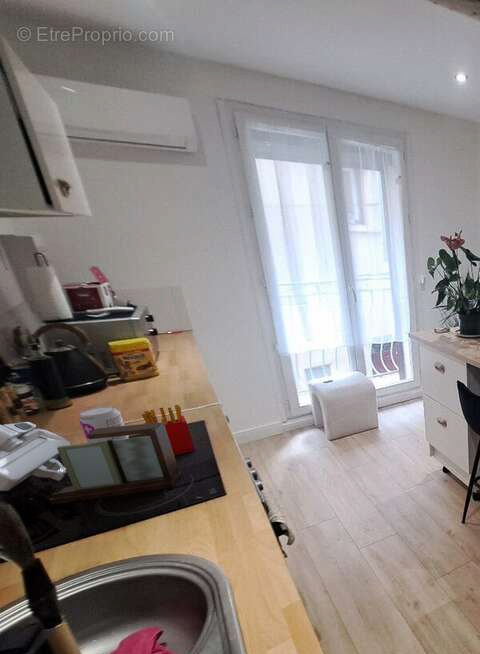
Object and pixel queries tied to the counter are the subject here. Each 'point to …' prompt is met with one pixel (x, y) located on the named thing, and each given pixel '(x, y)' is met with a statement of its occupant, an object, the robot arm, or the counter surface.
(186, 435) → the french fries container
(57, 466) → the robot arm
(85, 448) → the sliding pane
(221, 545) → the counter surface
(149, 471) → the window frame
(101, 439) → the supplement can
